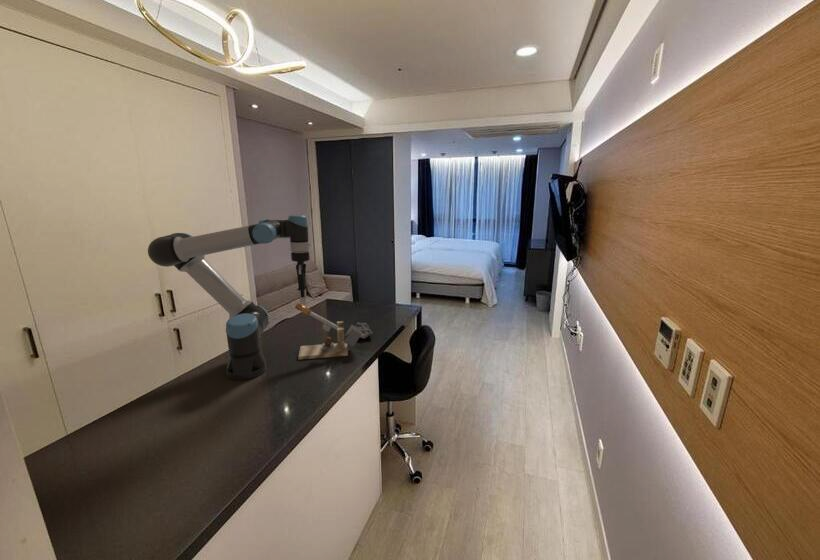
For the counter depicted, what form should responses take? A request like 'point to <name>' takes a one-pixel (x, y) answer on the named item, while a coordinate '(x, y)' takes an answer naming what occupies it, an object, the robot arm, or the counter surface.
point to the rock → (364, 330)
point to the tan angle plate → (326, 347)
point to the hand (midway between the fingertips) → (303, 303)
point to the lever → (349, 337)
